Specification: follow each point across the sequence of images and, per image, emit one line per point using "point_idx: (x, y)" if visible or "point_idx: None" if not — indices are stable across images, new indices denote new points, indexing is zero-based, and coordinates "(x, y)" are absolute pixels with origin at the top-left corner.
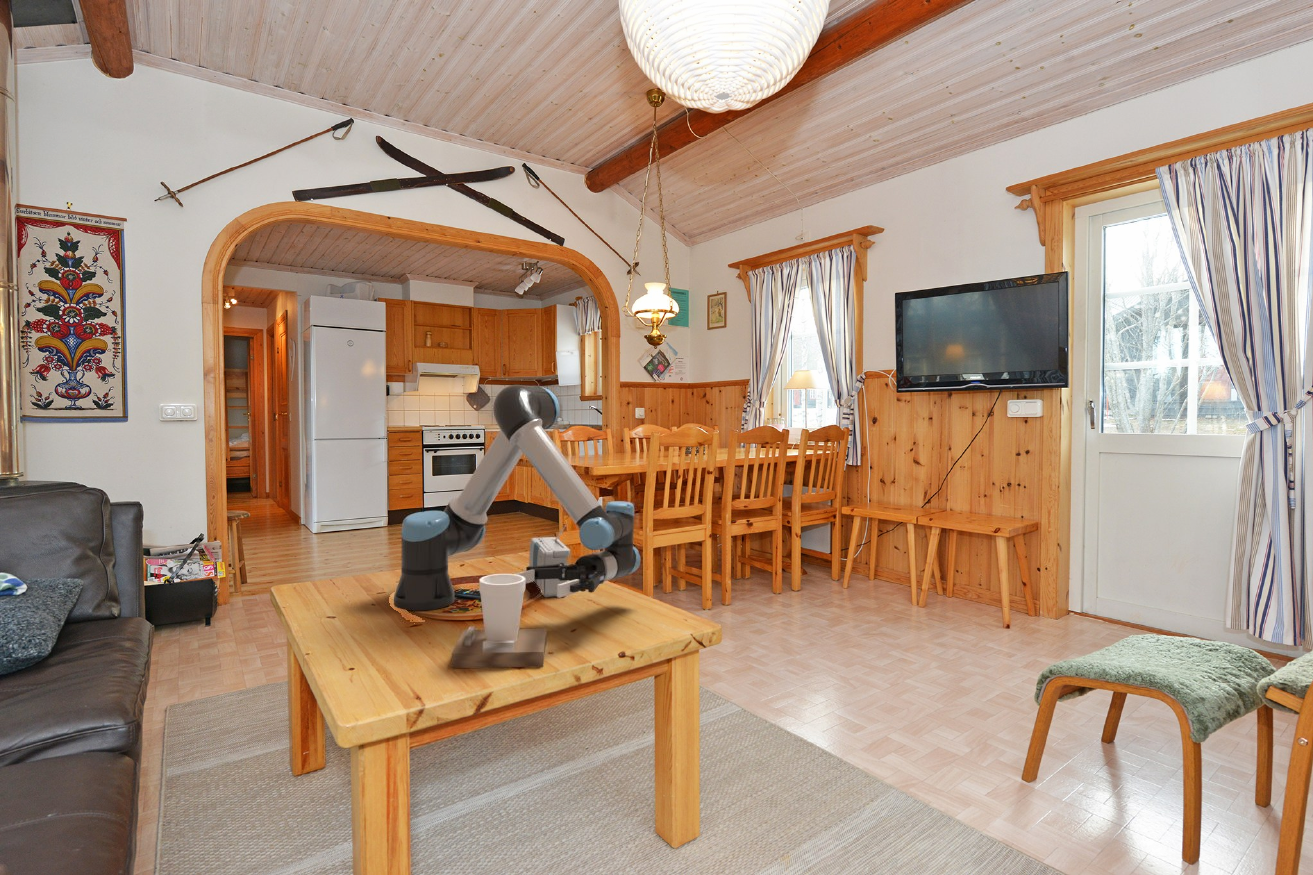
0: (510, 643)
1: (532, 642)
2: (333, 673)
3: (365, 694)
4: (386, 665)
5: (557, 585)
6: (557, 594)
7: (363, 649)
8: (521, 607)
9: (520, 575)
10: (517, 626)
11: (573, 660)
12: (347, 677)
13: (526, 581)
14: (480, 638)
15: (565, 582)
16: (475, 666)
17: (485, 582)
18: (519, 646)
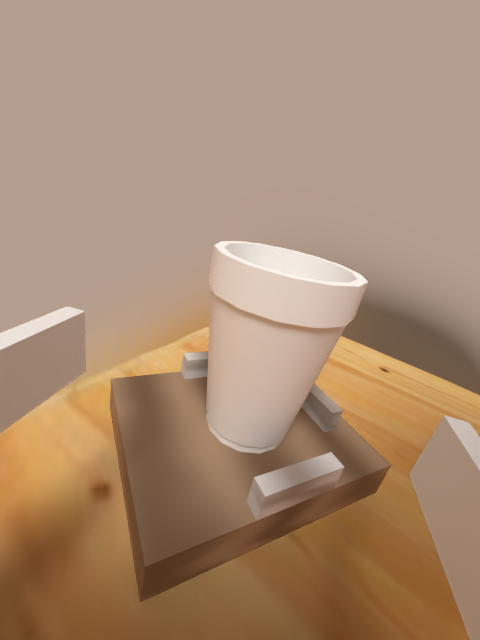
0: (189, 354)
1: (157, 421)
2: (383, 360)
3: None
4: (364, 380)
5: (84, 314)
6: (83, 359)
7: (463, 420)
8: (213, 347)
9: (462, 472)
10: (207, 383)
11: (18, 452)
12: (359, 354)
13: (467, 601)
14: (299, 421)
15: (21, 339)
16: None
17: (302, 253)
18: (181, 395)
